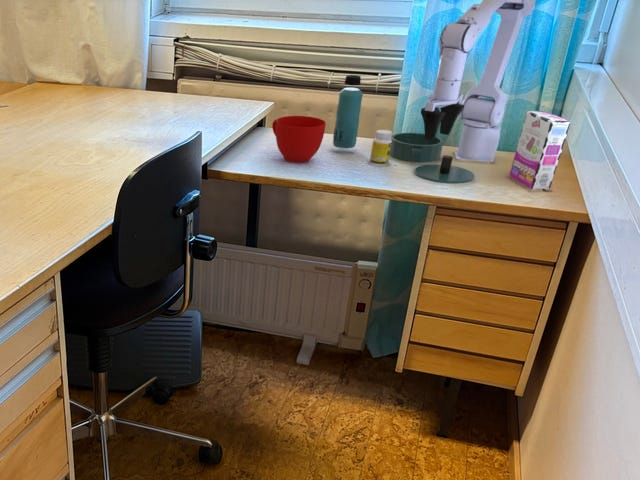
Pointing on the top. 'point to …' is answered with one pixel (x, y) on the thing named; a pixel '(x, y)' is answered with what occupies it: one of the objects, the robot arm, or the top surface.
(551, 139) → the candy bar box
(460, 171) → the lid
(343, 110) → the beverage bottle
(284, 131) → the ceramic cup
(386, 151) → the supplement bottle
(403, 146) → the pot
